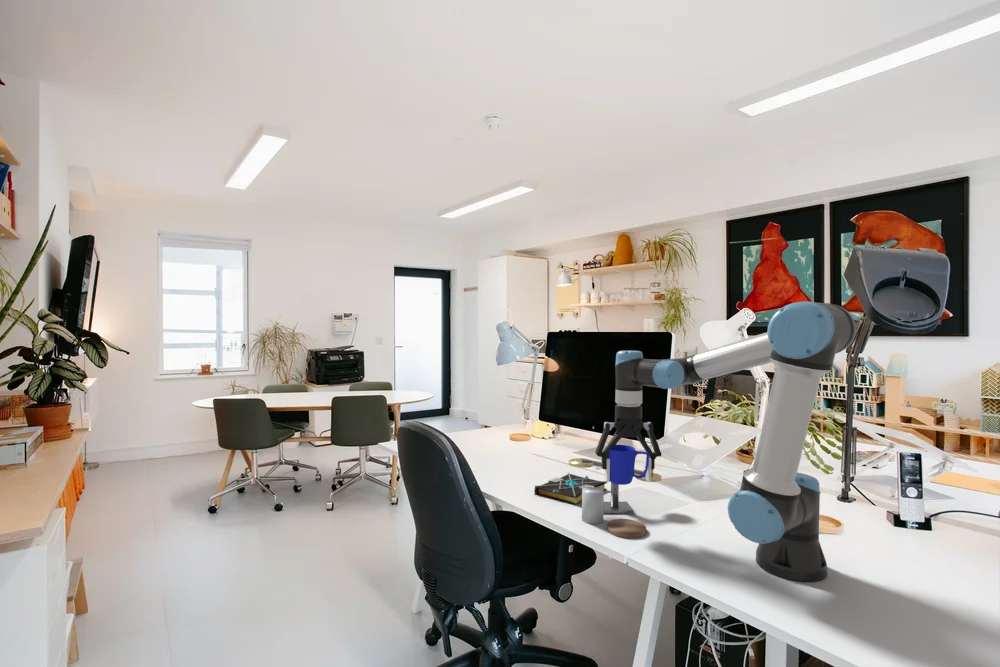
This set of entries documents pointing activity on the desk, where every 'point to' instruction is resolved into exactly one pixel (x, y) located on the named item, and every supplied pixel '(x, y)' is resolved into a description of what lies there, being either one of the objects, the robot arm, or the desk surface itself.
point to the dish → (626, 528)
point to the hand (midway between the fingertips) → (627, 480)
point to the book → (568, 488)
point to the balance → (613, 486)
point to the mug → (624, 464)
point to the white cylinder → (592, 505)
